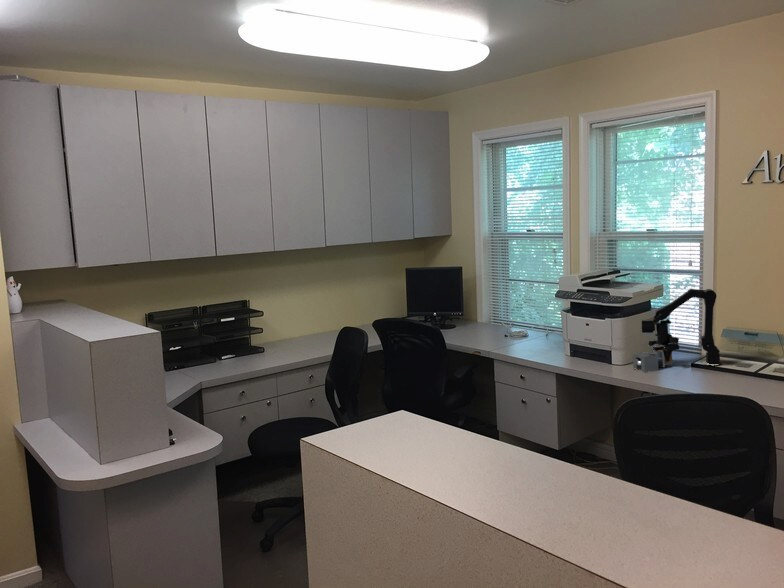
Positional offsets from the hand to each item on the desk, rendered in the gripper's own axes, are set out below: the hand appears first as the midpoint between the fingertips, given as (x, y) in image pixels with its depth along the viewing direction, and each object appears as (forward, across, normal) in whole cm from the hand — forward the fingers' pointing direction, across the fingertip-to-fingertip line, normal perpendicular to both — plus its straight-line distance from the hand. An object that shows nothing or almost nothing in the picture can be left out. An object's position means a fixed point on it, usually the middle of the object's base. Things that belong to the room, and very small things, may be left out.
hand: (664, 360), depth 343 cm
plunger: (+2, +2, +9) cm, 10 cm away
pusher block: (+2, 0, 0) cm, 2 cm away
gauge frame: (+3, +2, +7) cm, 7 cm away
